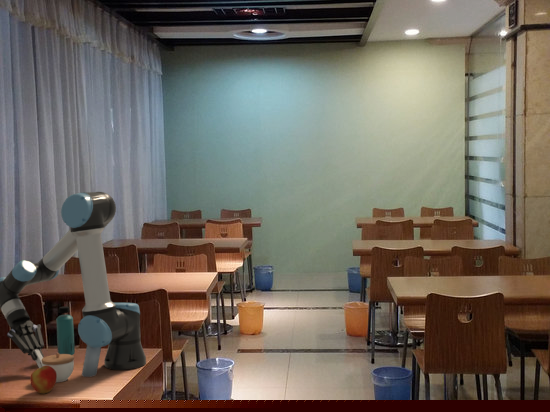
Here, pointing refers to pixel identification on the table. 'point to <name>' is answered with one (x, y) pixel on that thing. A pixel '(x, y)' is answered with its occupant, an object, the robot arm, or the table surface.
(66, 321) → the beverage bottle
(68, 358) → the lidded jar
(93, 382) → the table surface
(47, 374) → the apple
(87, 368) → the post
